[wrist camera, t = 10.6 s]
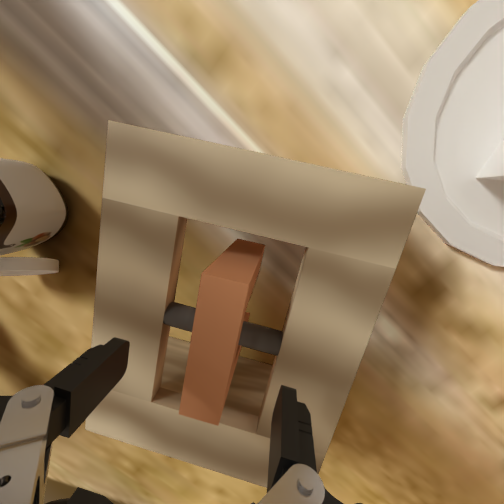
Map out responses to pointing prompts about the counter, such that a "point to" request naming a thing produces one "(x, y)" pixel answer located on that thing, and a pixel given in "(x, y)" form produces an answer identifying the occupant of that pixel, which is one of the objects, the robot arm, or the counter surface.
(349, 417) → the counter surface
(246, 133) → the counter surface
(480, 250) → the dish
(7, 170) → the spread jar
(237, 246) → the orange notched plate
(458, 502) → the counter surface
